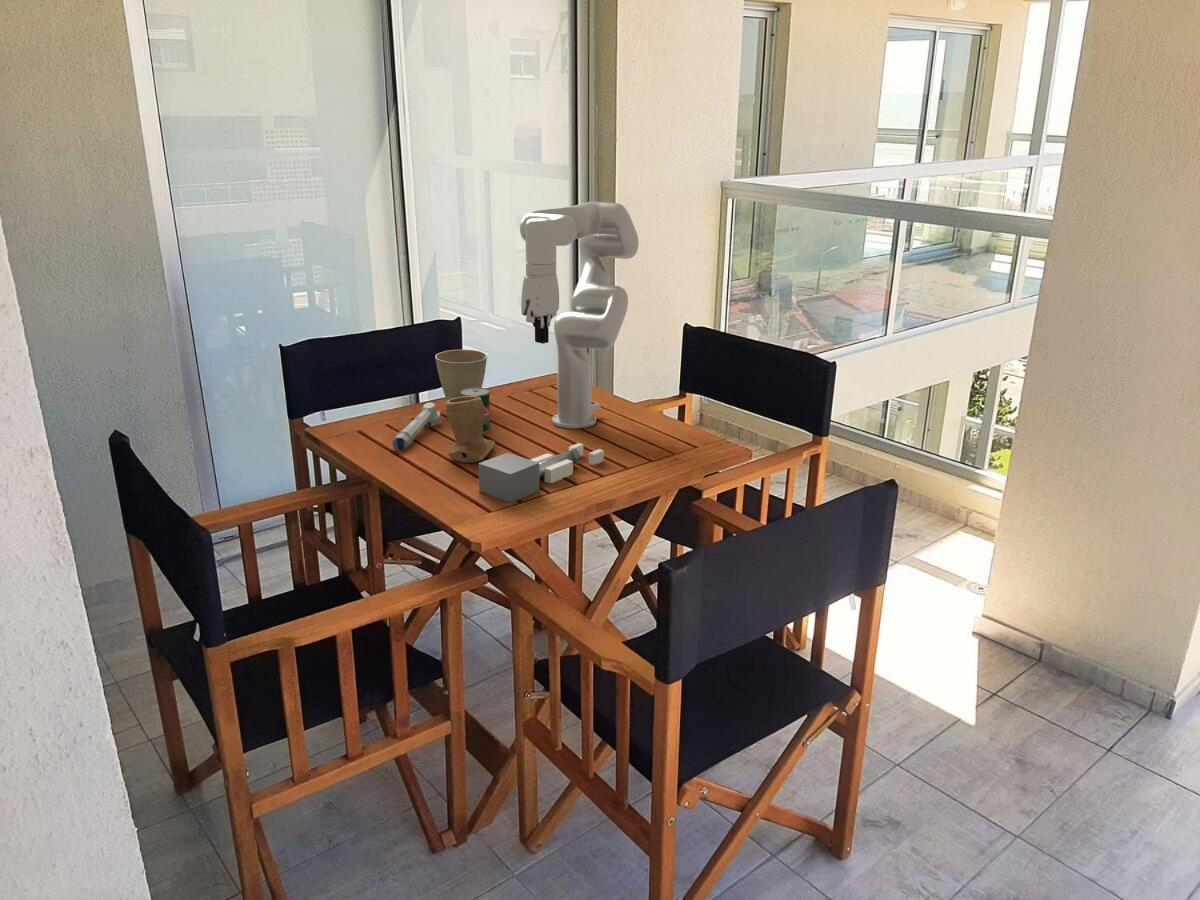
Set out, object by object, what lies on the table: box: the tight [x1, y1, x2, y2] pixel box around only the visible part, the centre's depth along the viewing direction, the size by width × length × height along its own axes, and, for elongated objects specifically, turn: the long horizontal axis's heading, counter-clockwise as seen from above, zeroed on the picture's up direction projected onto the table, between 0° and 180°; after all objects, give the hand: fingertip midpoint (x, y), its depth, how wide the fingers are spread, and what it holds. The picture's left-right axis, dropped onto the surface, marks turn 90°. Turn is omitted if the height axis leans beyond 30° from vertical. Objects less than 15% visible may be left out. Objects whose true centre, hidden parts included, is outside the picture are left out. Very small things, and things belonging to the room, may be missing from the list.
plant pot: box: [434, 349, 488, 402], centre depth 275 cm, size 15×15×16 cm
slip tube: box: [539, 448, 581, 479], centre depth 225 cm, size 24×4×4 cm, turn 141°
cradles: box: [530, 442, 605, 484], centre depth 232 cm, size 20×8×4 cm, turn 141°
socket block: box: [478, 452, 540, 504], centre depth 217 cm, size 10×10×7 cm
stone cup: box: [445, 396, 496, 464], centre depth 238 cm, size 15×12×15 cm
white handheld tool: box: [391, 402, 441, 451], centre depth 254 cm, size 5×7×25 cm
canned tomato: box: [460, 387, 491, 434], centre depth 257 cm, size 8×8×11 cm
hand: (541, 342), depth 238 cm, fingers closed
